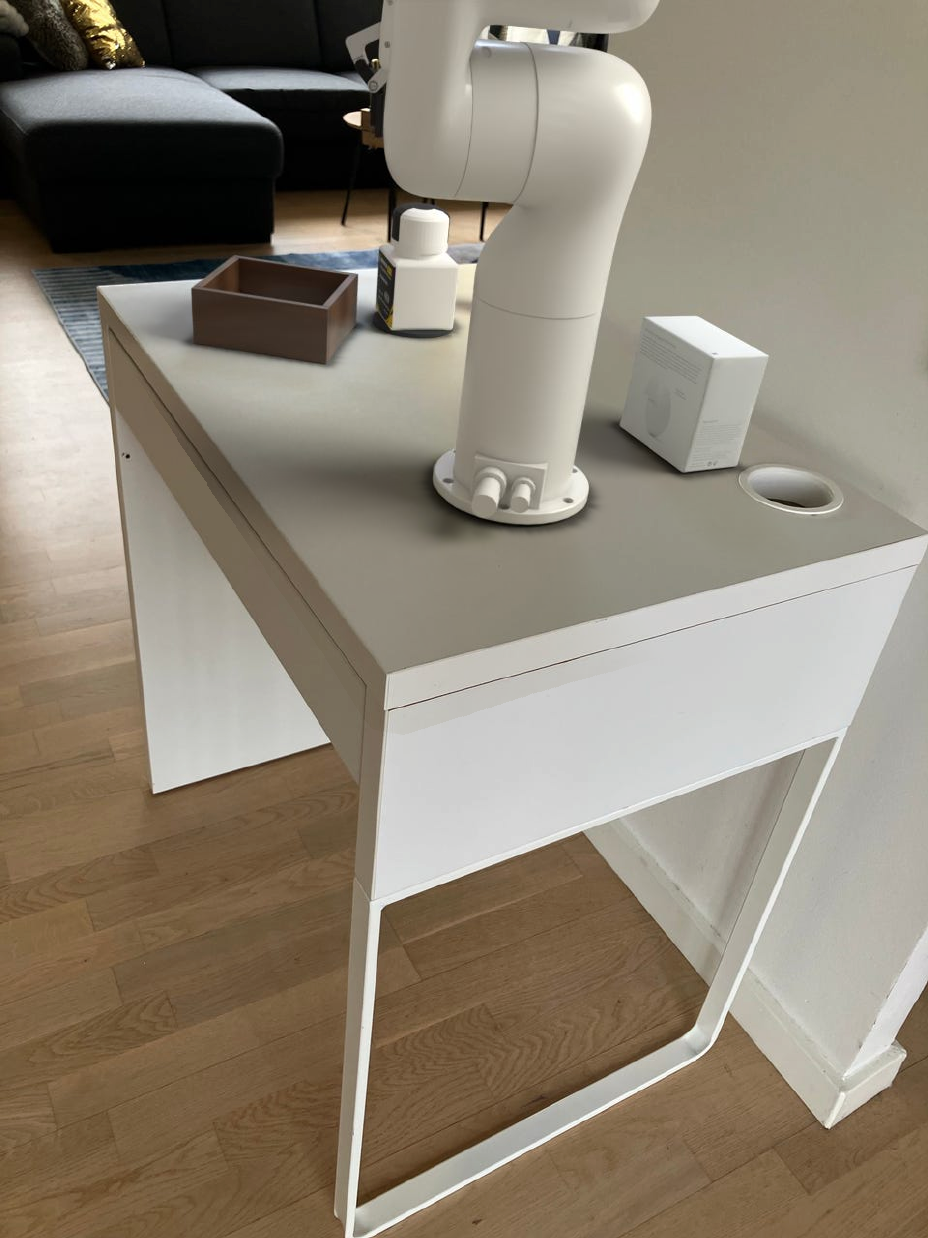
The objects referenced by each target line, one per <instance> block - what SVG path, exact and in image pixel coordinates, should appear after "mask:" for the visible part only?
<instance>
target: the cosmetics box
mask: <svg viewBox="0 0 928 1238" xmlns="http://www.w3.org/2000/svg"><path fill="white" fill-rule="evenodd" d="M634 355H635V356H634V361H633V365H632V370H631V375H630V379H629V384H628V387H627V392H626V397H625V398H626V399H625V402H624V406H623V410H622V414H621V419H620V421H619V427H620V428H622V429H623V430H625V431H626V432H627V433H629V434H630V435H631V436H633V437H634V438H636V439H637V440H638V441H640V442H641V443H642V444H643V445H644V446H646V447H648V448H649V449H650V450H652V451H653V452H654V453H656V454H657V455H658V456H660V457H661V458H662V459H663V460H665V461H667V462H668V463H669V464H670V465H672V466H673V467H674V468H675V469H677V470H678V471H680V472H681V473H683V474H684V473H691V472H699V471H707V470H716V469H724V468H725V469H726V468H733V467H738V463H739V460H740V456H741V453H742V450H743V446H744V443H745V439H746V436H747V432H748V429H749V425H750V422H751V420H752V416H753V412H754V408H755V404H756V403H757V402H756V401H757V399H758V398H757V397H758V396H759V395H758V394H759V391H760V388H761V387H760V386H761V384H762V381H763V377H764V374H765V371H766V367H767V364H768V361H769V358H770V356H769V355H768V354H767V353H765V352H763V351H762V350H759V349H758V348H756V347H754V346H752V345H751V344H748V343H747V342H745V341H743V340H742V339H740V338H738V337H736V336H734V335H732V334H730V333H728V332H727V331H725V330H723V329H722V328H720V327H718V326H716V325H714V324H713V323H711V322H709V321H707V320H706V319H704V318H702V317H700V316H698V315H676V316H675V315H674V316H673V315H672V316H670V315H669V316H667V315H666V316H643V318H642V320H641V325H640V330H639V335H638V342H637V346H636V351H635V354H634Z"/></svg>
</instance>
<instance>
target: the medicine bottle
mask: <svg viewBox="0 0 928 1238" xmlns="http://www.w3.org/2000/svg"><path fill="white" fill-rule="evenodd" d="M391 219H392V222H391V237H390V244H380V245H379V247H378V256H377V257H378V258H377V275H376V290H375V291H376V293H375V310H376V312H377V311H378V312H379V314H380V315H381V316H382V318H383V319H384V321H385V322H386V324H387V325H388V326H389V328H390V329H391V330H451V329H452V328H453V329H454V326H453V323H454V322H455V321H454V320H455V310H456V302H457V301H456V300H457V290H458V282H459V281H458V280H459V273H460V272H459V270H460V267H459V264H458V263H457V262H456V261H455V260H454V259H453V258H452V257H451V256H450V255H449V254H448V253H447V251H448V247H449V236H450V226H451V215H450V214H449V212H448V211H446V210H445V209H443V208H441V207H440V206H438V205H435V204H431V203H424V202H406V203H403V204H400V205H397V206H396V207H395V208H394V209H393V211H392V218H391Z"/></svg>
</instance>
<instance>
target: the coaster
mask: <svg viewBox="0 0 928 1238" xmlns="http://www.w3.org/2000/svg"><path fill="white" fill-rule="evenodd" d="M372 323H373V325H374V326H375V327H377V328H378V329H380V330H382V331H383V332H387V333H389V334H393V335H397V336H400V337H401V336H402V337H407V338H420V339H425V338H426V339H427V338H428V339H429V338H438V337H442V336H446V335H448V334H450V333H451V332H453V330H454V326H455V325H454V322H453V328H452V329H451V330H391V329H390V328H389V326H388V325H387V324H386V322H385V321H384V319H383V318H382V316H381V315H380V314H379V312H378V311H377V310H376V311H375V312H374V313H373V314H372Z"/></svg>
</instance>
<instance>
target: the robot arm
mask: <svg viewBox="0 0 928 1238" xmlns="http://www.w3.org/2000/svg"><path fill="white" fill-rule="evenodd" d="M660 1H661V0H383V3H382V10H381V11H382V13H381V21H379V22H377V23H374V24H373V25H371V26H369V27H366V28H364V29H361V30H359V31H357V32H355V33H353V34H351V35H348V36H347V37H346V38H345V45H346V48H347V50H348V53H349V55H350V58H351V60H352V62H353V64H354V65H353V66H354V69H355V71H356V73H357V74H358V75H359V77H360V78H361V79H362V81H363V82H364V83H365V85H366V86H367V89H368V91H369V92H370V93H371V95H370V115H369V125H370V128H374V138H376V139H382V138H383V150H384V151H383V152H384V158H385V163H386V166H387V169H388V171H389V174H390V176H391V177H392V179H393V180H394V182H395V183H396V184H397V185H398V186H399V187H400V188H401V189H402V190H403V191H405V192H407V193H409V194H412V195H413V196H414V195H415V196H418V197H420V198H421V197H422V198H426V199H427V198H429V199H437V200H449V201H450V200H451V201H468V202H469V201H470V202H487V203H505V204H508V205H512V207H511V208H510V209H509V210H508V212H507V213H506V214H505V215H504V217H503V218H502V219H501V220H500V221H499V223H498V224H497V225H496V227H494V229H493V231H492V232H491V233H490V235H489V237H488V238H487V239H486V241H485V243H484V245H483V247H482V249H481V251H480V253H479V256H478V259H477V261H476V262H477V263H476V266H475V270H474V277H473V285H472V296H471V305H470V306H471V307H470V314H469V323H468V324H469V325H468V332H467V333H468V335H467V343H466V351H465V361H464V369H463V370H464V371H463V379H462V380H463V381H462V389H461V397H460V408H459V414H458V415H459V416H458V425H457V433H456V441H455V442H456V443H455V447H454V448H452V449H449V450H448V451H447V452H445V453H443V454H442V455H441V456H440V457H438V459H437V460H436V461H435V464H434V466H433V472H432V473H433V475H432V482H433V486H434V488H435V489H436V492H437V493H438V494H439V496H441V497H442V498H443V499H444V500H445V501H446V502H448V503H449V504H450V505H452V506H454V507H455V508H457V509H458V510H461V511H462V512H465V513H467V514H469V515H472V516H475V517H478V518H479V519H483V520H484V519H485V520H488V521H492V522H497V523H503V524H510V525H527V526H528V525H531V526H532V525H544V524H550V523H556V522H559V521H562V520H565V519H568V518H570V517H572V516H574V515H576V514H577V513H578V512H580V511H581V510H582V509H583V508H584V507H585V505H586V503H587V501H588V495H589V490H590V487H589V481H588V479H587V477H586V475H585V474H584V472H582V470H581V469H579V468H578V467H577V466H576V465H575V459H576V455H577V449H578V443H579V437H580V432H581V429H582V428H581V427H582V421H583V417H584V411H585V405H586V400H587V394H588V389H589V383H590V377H591V372H592V367H593V361H594V356H595V350H596V345H597V339H598V334H599V330H600V322H601V317H602V313H603V312H602V311H603V307H604V302H605V297H606V293H607V292H606V291H607V285H608V281H609V275H610V272H611V271H610V270H611V265H612V261H613V255H614V251H615V247H616V243H617V239H618V235H619V232H620V228H621V225H622V222H623V217H624V214H625V212H626V208H627V206H628V202H629V200H630V197H631V193H632V191H633V187H634V185H635V183H636V180H637V177H638V175H639V172H640V170H641V167H642V165H643V164H642V163H643V161H644V157H645V154H646V151H647V149H648V143H649V138H650V134H651V128H652V127H651V126H652V118H653V116H652V112H653V111H652V102H651V96H650V93H649V92H650V91H649V89H648V87H647V85H646V82H645V80H644V79H643V77H642V75H640V73H639V72H638V71H637V70H636V69H635V67H633V66H632V65H631V64H630V63H628V62H627V61H625V60H623V59H622V58H619V57H618V56H616V55H614V54H612V53H608V52H605V51H602V50H598V49H593V48H587V47H582V46H573V45H562V44H552V43H551V44H550V43H540V42H528V41H510V40H509V41H508V40H499V38H497V37H496V36H494V34H492V33H491V26H504V27H505V26H506V27H513V28H514V27H515V28H524V29H525V28H526V29H536V30H548V31H558V32H559V31H560V32H568V33H569V32H571V33H582V34H600V35H601V34H604V35H605V34H619V33H624V32H630V31H633V30H635V29H638V28H639V27H641V26H643V25H644V24H645V23H646V22H647V21H648V20H649V19H650V17H652V15H653V14H654V12H655V11H656V9H657V8H658V5H659V3H660ZM378 40H379V43H378V63H379V66H380V68H379V69H378V70H376V68H375V66H373V64H372V63H371V61H370V60H369V59H368V57H367V53H366V46H367V45H368V44H371V43H373V42H375V41H378Z"/></svg>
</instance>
